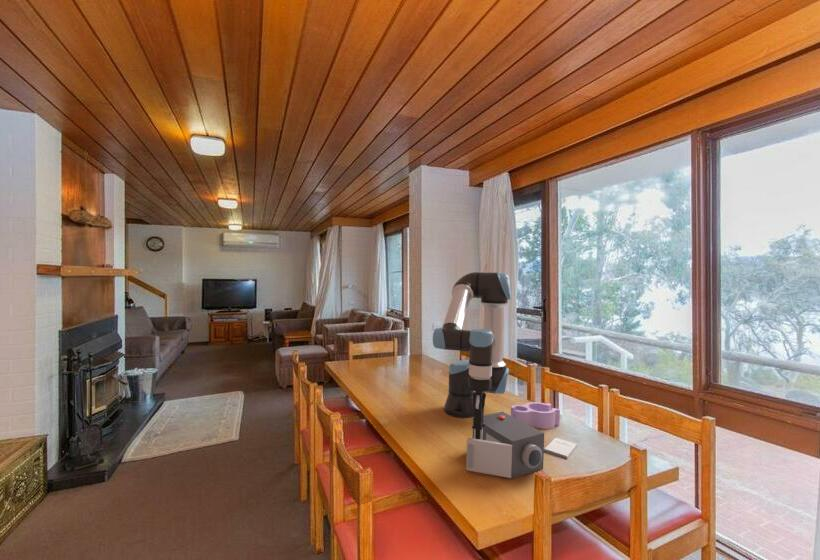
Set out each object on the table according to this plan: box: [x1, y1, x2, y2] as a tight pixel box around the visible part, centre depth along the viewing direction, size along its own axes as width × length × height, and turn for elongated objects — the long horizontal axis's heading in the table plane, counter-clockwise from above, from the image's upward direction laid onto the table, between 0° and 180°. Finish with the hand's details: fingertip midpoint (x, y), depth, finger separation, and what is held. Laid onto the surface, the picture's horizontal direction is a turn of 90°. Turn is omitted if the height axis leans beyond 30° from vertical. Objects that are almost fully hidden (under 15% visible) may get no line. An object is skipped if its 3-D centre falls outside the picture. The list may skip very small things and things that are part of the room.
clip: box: [510, 401, 561, 430], centre depth 157 cm, size 20×12×7 cm, turn 102°
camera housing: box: [471, 411, 545, 480], centre depth 125 cm, size 23×14×13 cm, turn 28°
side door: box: [465, 437, 512, 479], centre depth 115 cm, size 14×2×10 cm, turn 73°
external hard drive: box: [544, 437, 578, 460], centre depth 135 cm, size 2×8×12 cm
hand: (477, 446), depth 121 cm, fingers closed
